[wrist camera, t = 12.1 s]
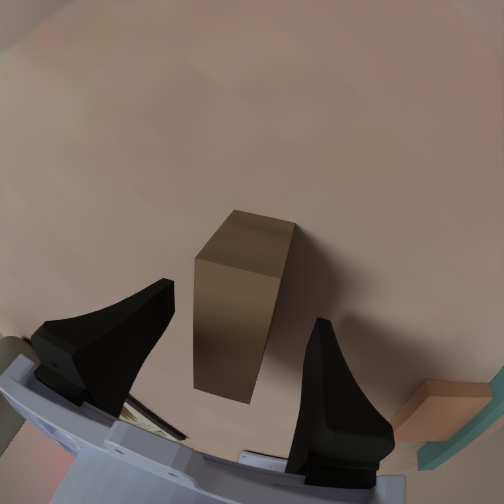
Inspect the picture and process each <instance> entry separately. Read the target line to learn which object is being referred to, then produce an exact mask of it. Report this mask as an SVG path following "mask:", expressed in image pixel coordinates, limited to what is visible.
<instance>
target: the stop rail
mask: <svg viewBox="0 0 504 504" xmlns="http://www.w3.org/2000/svg"><path fill="white" fill-rule="evenodd" d="M489 385H490V388H491V391H492V394H493V397H494V398H493V399H492V400H491V401H490V402H489V403H488V404H487V405H486V406H485V407H484V408H483V409H482V410H481V411H480V412H479V413H478V414H477V415H476V416H474V417H473V418H472V419H471V420H470V421H469V422H468V423H467V424H466V425H465V426H464V427H462V428H461V429H460V430H459V431H458V432H457V433H456V434H454V435H453V436H452V437H451V438H450V439H448V440H447V441H430V442H428V443H427V444H426V445H425V446H423V447H422V448H421V449H420V450H418V451H417V458H418V471H420V470H433V469H434V468H436V467H437V466H439V465H440V464H442V463H443V462H444V461H446V460H447V459H449V458H450V457H452V456H453V455H455V454H456V453H457V452H459V451H460V450H461V449H463V448H464V447H465V446H466V445H468V444H469V443H470V442H471V441H473V440H474V439H475V438H476V437H478V436H479V435H480V434H481V433H482V432H483V431H485V430H486V429H487V428H488V427H489V426H490V425H491V424H493V423H494V422H495V421H496V420H497V419H498V418H499V417H500V416H501V415H502V414H503V413H504V367H503V368H502V369H501V371H500V372H499V373H498V374H497V375H496V377H495V378H494V379H493V380H492V381H491V382H490V384H489Z"/></svg>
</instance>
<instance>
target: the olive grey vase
mask: <svg viewBox="0 0 504 504" xmlns="http://www.w3.org/2000/svg"><path fill="white" fill-rule="evenodd" d="M20 354H23V355H24V356H26V357H27V358H29V359H30V360H31V361H33V362H34V363H35V364H36V365H37V366H38V367H39V365H40V364H41V362H40V360H39V358H38V356H37V354H36V352H35V350H34V348H33V347H32V346H31V345H29V344H28V343H27V342H25V341H24V340H22V339H20V338H18V337H15V336H6V337H3V338H1V339H0V376H1V375H2V374H3V373H4V372H5V371H6V370H7V368H8V367H9V366H10V365H11V364H12V363H13V362H14V360H15V359H16V358H17V357H18V356H19V355H20ZM26 420H27V419H25V418H24V417H23V416H22V415H21V414H20V413H18V412H17V411H16V410H15V409H14V408H13V406H12V405H11V404H10V403H9V401H8V400H7V399H6V398H5V396H4V395H3V394H2V393H1V391H0V457H1V455H3V453H4V452H5V450H6V449H7V447H8V445H9V444H10V442H11V441H12V439H13V438H14V437H15V435H16V434H17V432H18V431H19V430H20V428H21V427H22V425H23V424H24V423H25V421H26Z"/></svg>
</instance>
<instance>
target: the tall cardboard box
mask: <svg viewBox="0 0 504 504" xmlns="http://www.w3.org/2000/svg"><path fill="white" fill-rule="evenodd" d="M294 226H295V223H293V222H289V221H284V220H280V219H275V218H271V217H266V216H262V215H257V214H252V213H248V212H243V211H238V210H233V212H232V213H231V214H230V215H229V217H228V218H227V219H226V220H225V221H224V223H223V224H222V225H221V226H220V227H219V229H218V230H217V231H216V232H215V234H214V235H213V236H212V237H211V239H210V240H209V241H208V242H207V244H206V245H205V246H204V247H203V249H202V250H201V251H200V252H199V254H198V255H197V256H196V257H195V271H194V310H193V375H194V388H195V389H198V390H201V391H204V392H207V393H211V394H214V395H217V396H221V397H224V398H227V399H231V400H235V401H238V402H242V403H246V404H250V401H251V397H252V394H253V391H254V387H255V384H256V380H257V377H258V373H259V369H260V366H261V362H262V359H263V355H264V351H265V348H266V344H267V340H268V337H269V333H270V329H271V325H272V321H273V317H274V312H275V308H276V304H277V300H278V296H279V292H280V288H281V283H282V279H283V275H284V270H285V266H286V262H287V257H288V253H289V248H290V244H291V239H292V235H293V230H294Z"/></svg>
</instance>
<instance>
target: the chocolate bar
mask: <svg viewBox="0 0 504 504" xmlns="http://www.w3.org/2000/svg"><path fill="white" fill-rule="evenodd" d="M119 420H123V421H126V422H129V423H132V424H134V425H136V426H138V427H140V428H143V429H145V430H147V431H150V432H152V433H155V434H157V435H160V436H162V437H165V438H167V439H170V440H172V441H177V440H185V438H186V436H185V435H184V434H182V433H181V432H179V431H178V430H176V429H175V428H174V427H172V426H171V425H169V424H168V423H166V422H165V421H164V420H162V419H161V418H159V417H158V416H157V415H155V414H154V413H153V412H151V411H150V410H149V409H147V408H146V407H145V406H144V405H142V404H141V403H140V402H139V401H137V400H136V399H135V398H134V397H132V396H131V395H130V394H128V396H127V398H126V401H125V403H124V406H123V408H122V411H121V414H120V417H119Z"/></svg>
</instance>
